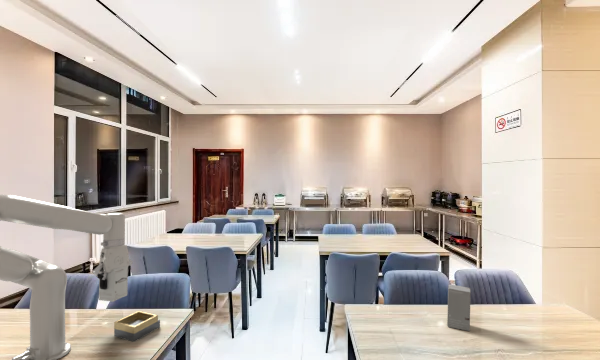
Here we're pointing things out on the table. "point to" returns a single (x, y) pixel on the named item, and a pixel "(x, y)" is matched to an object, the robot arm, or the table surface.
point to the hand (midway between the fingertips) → (113, 285)
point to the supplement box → (115, 285)
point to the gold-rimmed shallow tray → (136, 325)
